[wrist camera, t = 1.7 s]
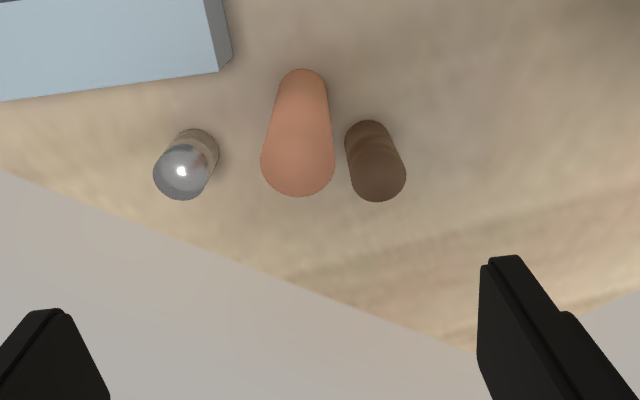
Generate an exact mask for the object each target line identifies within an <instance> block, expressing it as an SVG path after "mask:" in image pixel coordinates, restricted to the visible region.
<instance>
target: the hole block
mask: <svg viewBox="0 0 640 400" xmlns="http://www.w3.org/2000/svg"><path fill="white" fill-rule="evenodd" d="M232 57H233V51H232V47H231V42H230V37H229V32H228V28H227V23H226V18H225V13H224V9H223V4H222V0H0V102H1V101H8V100H15V99H22V98H30V97H37V96H44V95H52V94H59V93H66V92H73V91H81V90H88V89H95V88H103V87H110V86H117V85H124V84H132V83H139V82H146V81H154V80H161V79H168V78H175V77H183V76H190V75H197V74H205V73H212V72H219V71H220V70H221V69H222V68H223V67H224V66H225V64H226V63H227V62H228V61H229V60H230V59H231V58H232Z"/></svg>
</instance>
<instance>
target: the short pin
mask: <svg viewBox="0 0 640 400" xmlns="http://www.w3.org/2000/svg"><path fill="white" fill-rule="evenodd" d="M218 157H219V148H218V145H217V143H216V141H215V140H214V139H213V137H212V136H211V135H209V134H208V133H206V132H204V131H202V130H198V129H189V130H185V131H183V132H181V133H180V134H179V135H178V136H177V137H176V138H175V139H174V141H173V142H172V143H171V145H170V146H169V147H168V148H167V150H166V151H165V152H164V153H163V155H162V156H161V157H160V158H159V160H158V161H157V162H156V164H155V166H154V168H153V179H154V182H155V184H156V186H157V187H158V189H159V190H160V191H161V192H162V193H163V194H165V195H166V196H168V197H170V198H172V199H175V200H182V201H184V200H190V199H193V198H195V197H197V196H198V195H199V194H200V193H201V192H202V191H203V189H204V187H205V185H206V183H207V181H208V179H209V177H210V175H211V173H212V171H213V169H214V167H215V165H216V162H217V160H218Z"/></svg>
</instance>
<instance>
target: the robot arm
mask: <svg viewBox="0 0 640 400" xmlns="http://www.w3.org/2000/svg"><path fill="white" fill-rule="evenodd" d="M476 352H477V361H478V365H479V368H480V371H481V373H482V375H483V378H484V380H485V383H486V385H487V388H488V390H489V392H490V395H491V397H492V399H493V400H639V399H638V398H637V396H636V395H635V394H634V392H633V391H632V390H631V388H630V387H629V386H628V385H627V383H626V382H625V381H624V379H623V378H622V377H621V375H620V374H619V373H618V371H617V370H616V369H615V368H614V366H613V365H612V364H611V362H610V361H609V360H608V358H607V357H606V356H605V355H604V353H603V352H602V351H601V349H600V348H599V347H598V345H597V344H596V343H595V342H594V340H593V339H592V338H591V336H590V335H589V334H588V332H587V331H586V330H585V329H584V327H583V326H582V325H581V323H580V322H579V321H578V319H577V318H576V317H575V316H574V315H573V314H572V313H570V312H568V311H562V312H560V311H559V309H558V308H557V307H556V305H555V304H554V303H553V301H552V300H551V299H550V297H549V296H548V294H547V293H546V292H545V290H544V289H543V288H542V286H541V285H540V284H539V282H538V281H537V280H536V278H535V277H534V275H533V274H532V273H531V271H530V270H529V269H528V267H527V266H526V265H525V263H524V262H523V260H522V259H521V258H520V257H519V256H518V255H508V256H499V257H491V258H489V261H488V265H482V266H481V269H480V287H479V308H478V330H477V351H476ZM0 400H110V393H109V391H108V389H107V387H106V385H105V383H104V381H103V379H102V377H101V375H100V373H99V371H98V369H97V367H96V365H95V363H94V361H93V359H92V357H91V355H90V353H89V351H88V349H87V347H86V345H85V343H84V341H83V339H82V337H81V335H80V333H79V331H78V329H77V327H76V325H75V323H74V321H73V319H72V317H71V316H70V315H69V314H66V313H64V311H63V310H61V309H60V308H52V309H45V310H35V311H31V312H29V313H28V314H27V315H26V316H25V317H24V318H23V320H22V321H21V322H20V323H19V325H18V326H17V327H16V328H15V330H14V331H13V332H12V333H11V334H10V336H9V337H8V338H7V339H6V340H5V342H4V343H3V344H2V345H1V346H0Z"/></svg>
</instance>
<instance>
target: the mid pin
mask: <svg viewBox="0 0 640 400" xmlns="http://www.w3.org/2000/svg"><path fill="white" fill-rule="evenodd" d="M344 145H345V151H346V156H347V161H348V166H349V171H350V176H351V181H352V186H353V188H354V190H355V192H356V193H357V194H358V195H359V196H360V197H361V198H363V199H365V200H367V201H371V202H383V201H387V200H389V199H391V198H393V197H395V196H396V195H397V194H398V193H399V192H400V191H401V190H402V188H403V187H404V184H405V181H406V170H405V167H404V165H403V162H402V160H401V158H400V156H399V154H398V152H397V150H396V148H395V146H394V144H393V142H392V139H391V137H390V135H389V133H388V131H387V130H386V128H385V127H384V126H383V125H382V124H380V123H378V122H376V121H371V120H365V121H361V122H358V123H356V124H355V125H353V126H352V127H351V128H350V129H349V131H348V132H347V134H346V136H345V141H344Z"/></svg>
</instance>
